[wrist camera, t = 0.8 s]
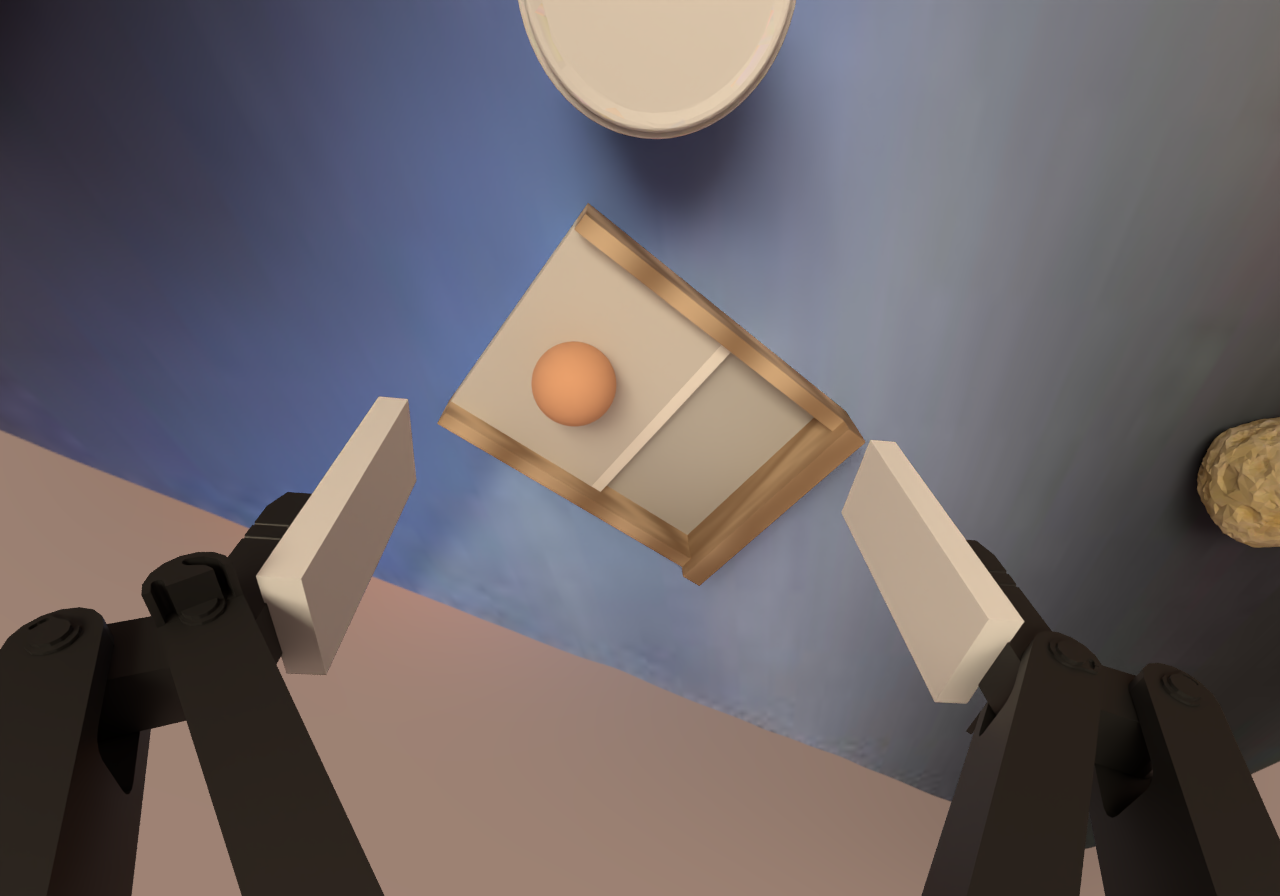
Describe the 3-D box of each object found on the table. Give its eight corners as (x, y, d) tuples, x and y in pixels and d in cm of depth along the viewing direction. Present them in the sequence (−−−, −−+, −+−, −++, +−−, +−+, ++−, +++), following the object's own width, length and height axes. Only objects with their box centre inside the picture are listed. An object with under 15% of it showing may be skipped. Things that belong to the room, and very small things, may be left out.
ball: (521, 372, 38) (508, 411, 33) (567, 312, 36) (559, 345, 31) (586, 415, 39) (581, 456, 35) (632, 360, 37) (634, 397, 33)
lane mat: (456, 390, 40) (450, 401, 39) (577, 217, 34) (576, 223, 33) (687, 532, 47) (688, 545, 46) (819, 409, 41) (825, 419, 40)
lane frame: (448, 401, 40) (433, 431, 37) (588, 202, 34) (584, 218, 30) (694, 549, 48) (699, 585, 45) (845, 411, 42) (865, 442, 38)
